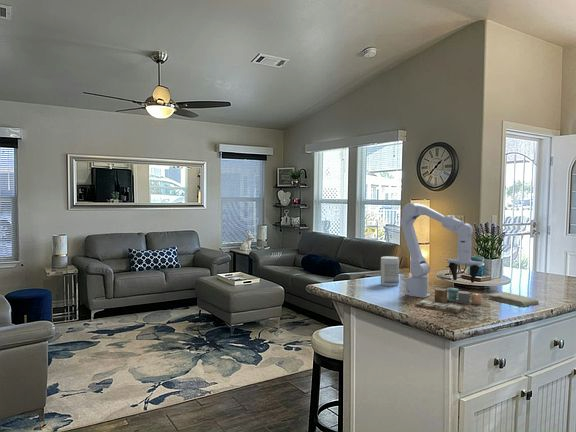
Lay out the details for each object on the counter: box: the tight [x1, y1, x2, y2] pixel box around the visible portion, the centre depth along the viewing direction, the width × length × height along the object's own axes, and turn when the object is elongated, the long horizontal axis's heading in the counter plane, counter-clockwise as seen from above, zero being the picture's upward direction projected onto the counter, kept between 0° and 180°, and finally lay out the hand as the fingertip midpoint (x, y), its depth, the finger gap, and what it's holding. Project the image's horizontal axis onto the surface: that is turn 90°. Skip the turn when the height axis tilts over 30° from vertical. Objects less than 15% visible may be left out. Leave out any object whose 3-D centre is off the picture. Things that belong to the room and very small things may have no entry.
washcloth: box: [488, 291, 540, 307], centre depth 194 cm, size 12×18×3 cm, turn 28°
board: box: [414, 299, 466, 314], centre depth 181 cm, size 18×8×1 cm, turn 49°
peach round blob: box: [470, 292, 482, 305], centre depth 189 cm, size 4×4×4 cm
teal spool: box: [446, 287, 460, 302], centre depth 195 cm, size 5×5×5 cm
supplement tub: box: [380, 255, 400, 287], centre depth 229 cm, size 10×10×15 cm
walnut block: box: [434, 287, 448, 304], centre depth 190 cm, size 4×4×6 cm
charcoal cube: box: [457, 290, 471, 305], centre depth 191 cm, size 4×4×4 cm
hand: (463, 281), depth 191 cm, fingers open, 7 cm apart
